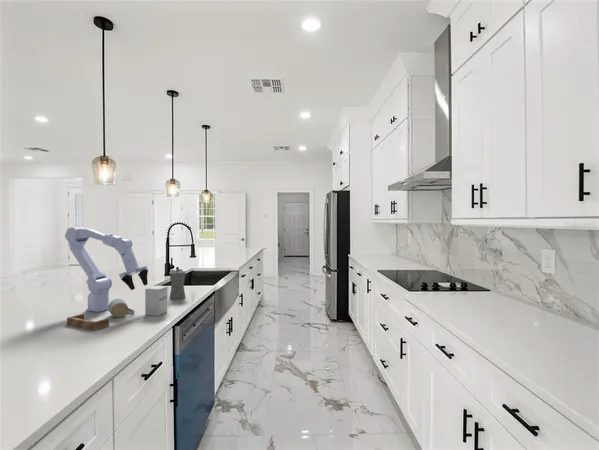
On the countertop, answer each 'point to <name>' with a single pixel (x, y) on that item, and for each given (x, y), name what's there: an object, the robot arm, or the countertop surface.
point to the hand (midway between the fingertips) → (139, 287)
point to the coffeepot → (177, 284)
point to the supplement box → (156, 300)
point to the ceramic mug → (119, 308)
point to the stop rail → (87, 322)
